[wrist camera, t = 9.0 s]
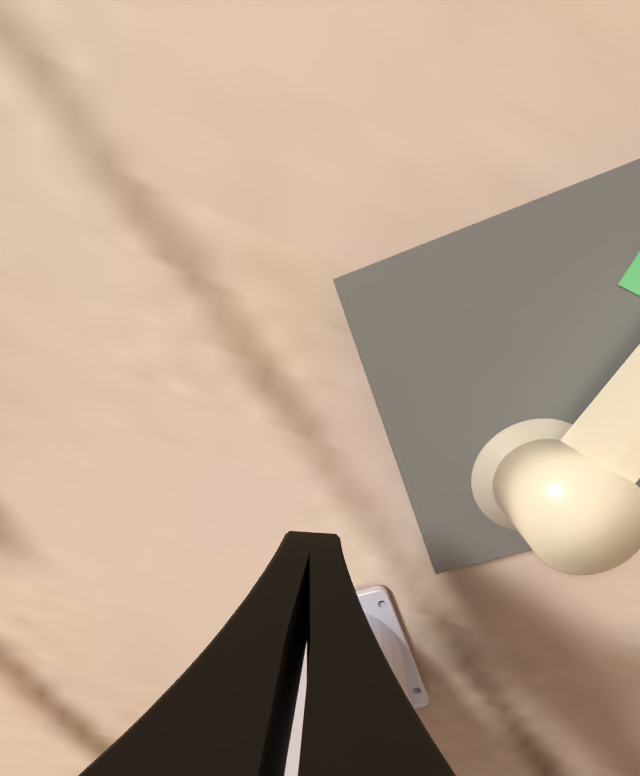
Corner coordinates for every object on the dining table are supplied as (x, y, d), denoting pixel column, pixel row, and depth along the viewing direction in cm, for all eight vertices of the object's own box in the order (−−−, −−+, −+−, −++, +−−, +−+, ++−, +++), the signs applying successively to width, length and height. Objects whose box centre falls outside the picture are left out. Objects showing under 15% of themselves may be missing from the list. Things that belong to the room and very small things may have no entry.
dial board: (824, 448, 17) (873, 463, 15) (428, 553, 19) (436, 575, 18) (811, 93, 13) (872, 67, 12) (333, 281, 16) (333, 279, 15)
